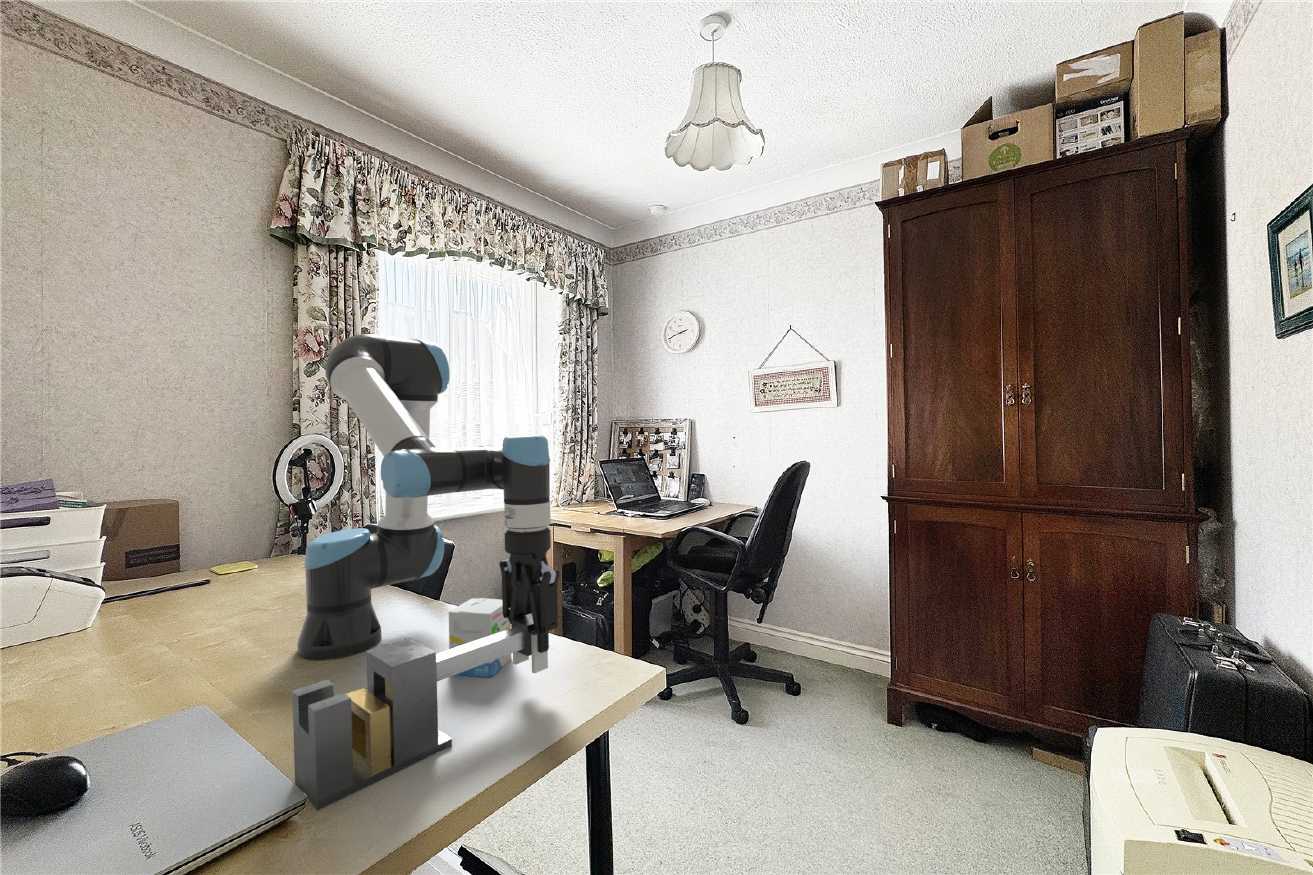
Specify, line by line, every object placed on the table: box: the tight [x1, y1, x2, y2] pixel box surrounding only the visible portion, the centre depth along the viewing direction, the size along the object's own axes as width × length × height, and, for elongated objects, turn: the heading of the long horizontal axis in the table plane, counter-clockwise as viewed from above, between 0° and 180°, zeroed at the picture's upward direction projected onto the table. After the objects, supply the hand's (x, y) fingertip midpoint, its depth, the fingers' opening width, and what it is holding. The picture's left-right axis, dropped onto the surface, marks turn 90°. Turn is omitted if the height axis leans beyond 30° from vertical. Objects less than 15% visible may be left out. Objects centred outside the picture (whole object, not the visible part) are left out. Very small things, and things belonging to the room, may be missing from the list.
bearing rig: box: [291, 637, 453, 811], centre depth 74 cm, size 8×17×14 cm, turn 139°
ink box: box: [448, 597, 512, 678], centre depth 104 cm, size 8×8×12 cm
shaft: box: [436, 613, 534, 682], centre depth 85 cm, size 4×24×5 cm, turn 139°
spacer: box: [345, 687, 391, 776], centre depth 73 cm, size 8×2×8 cm, turn 50°
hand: (530, 665), depth 93 cm, fingers closed on shaft, 4 cm apart
